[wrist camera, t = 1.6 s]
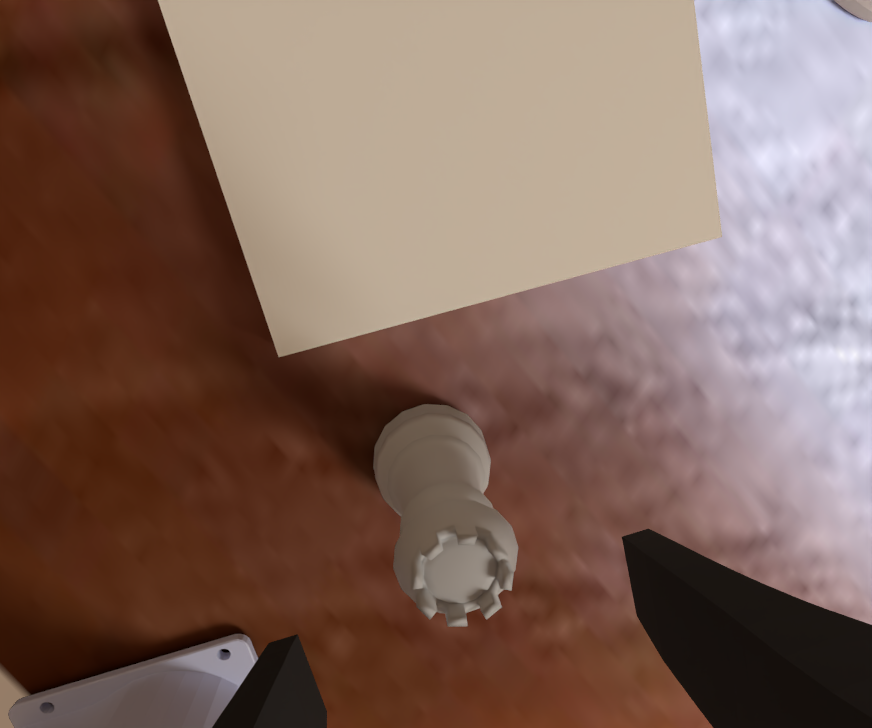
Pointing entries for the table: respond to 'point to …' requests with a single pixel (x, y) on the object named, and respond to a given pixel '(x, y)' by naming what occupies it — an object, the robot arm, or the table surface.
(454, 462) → the rook chess piece
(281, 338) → the cream tile
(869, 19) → the eye dropper bottle
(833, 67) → the table surface
